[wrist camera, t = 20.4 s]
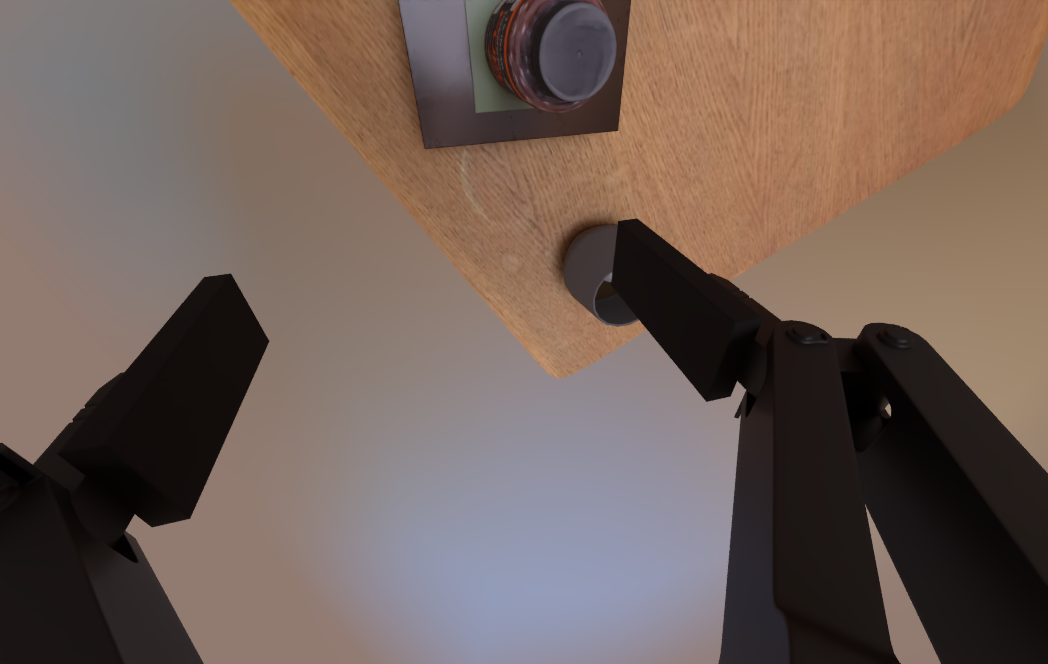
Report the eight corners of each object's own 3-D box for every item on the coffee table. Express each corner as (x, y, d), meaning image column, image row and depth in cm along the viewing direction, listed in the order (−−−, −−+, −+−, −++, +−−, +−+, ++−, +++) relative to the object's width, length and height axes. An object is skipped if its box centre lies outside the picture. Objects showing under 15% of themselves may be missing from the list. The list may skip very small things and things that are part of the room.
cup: (621, 198, 43) (668, 234, 35) (634, 266, 49) (677, 310, 41) (542, 234, 43) (572, 278, 35) (565, 298, 49) (595, 346, 41)
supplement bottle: (470, 5, 25) (505, -11, 17) (556, -21, 26) (634, -50, 17) (495, 106, 29) (533, 137, 20) (570, 83, 29) (639, 103, 21)
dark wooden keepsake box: (422, 134, 35) (424, 149, 30) (372, -143, 25) (364, -186, 20) (591, 119, 37) (619, 131, 32) (607, -137, 27) (650, -173, 23)
